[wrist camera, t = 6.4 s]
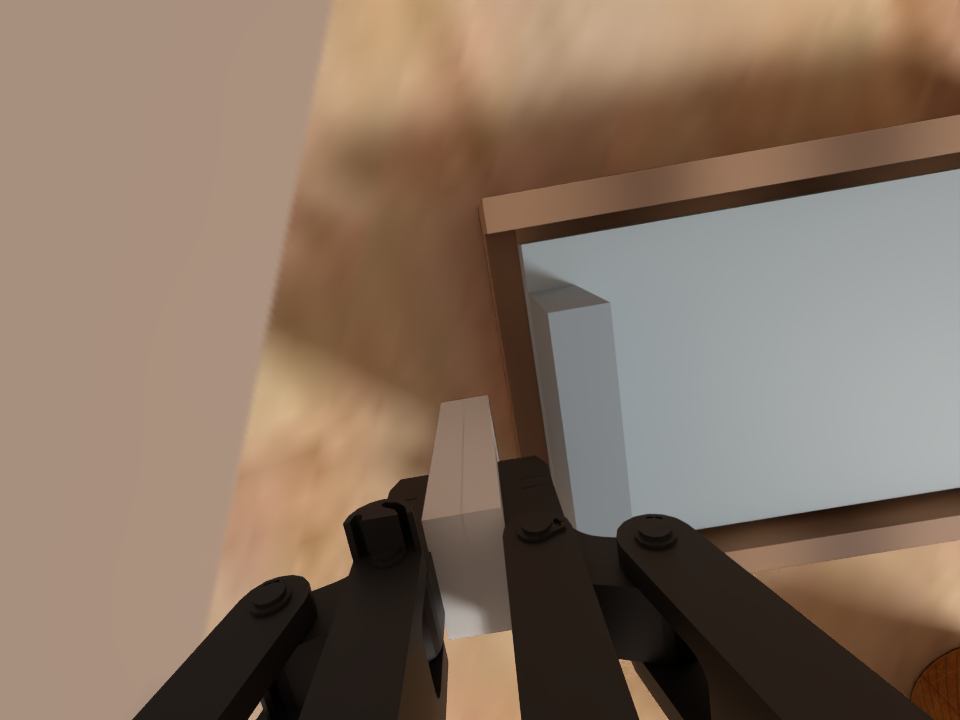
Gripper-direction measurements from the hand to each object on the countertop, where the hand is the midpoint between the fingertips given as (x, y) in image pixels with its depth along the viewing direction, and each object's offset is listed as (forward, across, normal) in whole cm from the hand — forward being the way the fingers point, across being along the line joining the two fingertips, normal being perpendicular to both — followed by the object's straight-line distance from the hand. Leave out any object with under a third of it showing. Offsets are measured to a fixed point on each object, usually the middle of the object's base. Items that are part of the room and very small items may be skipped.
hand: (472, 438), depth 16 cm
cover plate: (+2, -12, 0) cm, 13 cm away
